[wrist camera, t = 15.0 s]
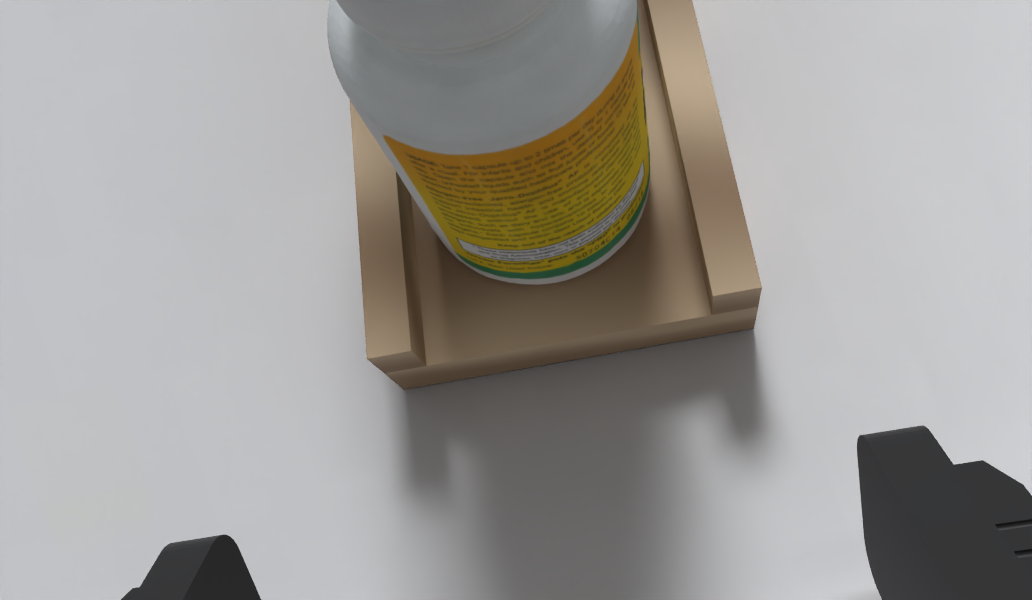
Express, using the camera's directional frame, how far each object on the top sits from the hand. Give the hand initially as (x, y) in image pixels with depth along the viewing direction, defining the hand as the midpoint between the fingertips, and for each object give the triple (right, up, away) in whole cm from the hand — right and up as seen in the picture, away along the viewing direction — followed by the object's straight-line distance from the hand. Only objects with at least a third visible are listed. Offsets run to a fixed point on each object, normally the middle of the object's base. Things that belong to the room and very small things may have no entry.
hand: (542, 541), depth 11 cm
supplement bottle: (0, +6, +10) cm, 12 cm away
